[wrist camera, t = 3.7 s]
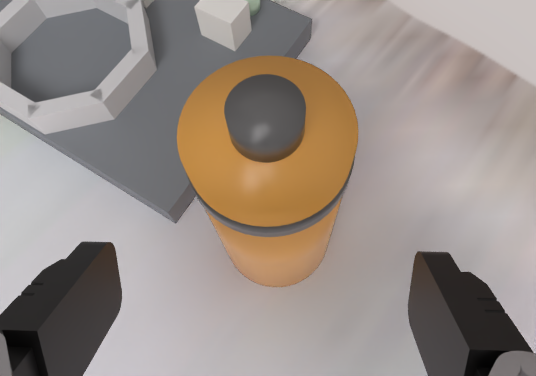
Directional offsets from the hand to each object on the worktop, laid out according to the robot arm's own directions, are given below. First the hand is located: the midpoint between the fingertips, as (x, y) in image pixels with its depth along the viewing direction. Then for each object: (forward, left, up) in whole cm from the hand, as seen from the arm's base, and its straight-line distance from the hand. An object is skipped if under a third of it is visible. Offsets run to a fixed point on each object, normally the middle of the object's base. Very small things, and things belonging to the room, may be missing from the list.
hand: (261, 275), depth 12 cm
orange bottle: (-2, +3, -8) cm, 9 cm away
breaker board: (-16, +8, -8) cm, 19 cm away
